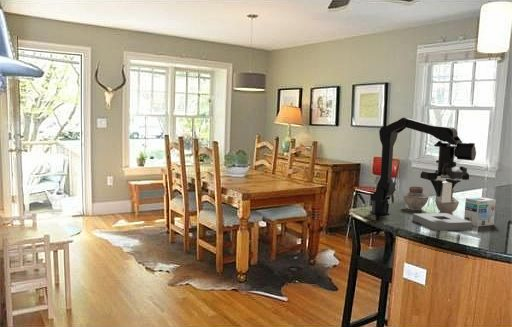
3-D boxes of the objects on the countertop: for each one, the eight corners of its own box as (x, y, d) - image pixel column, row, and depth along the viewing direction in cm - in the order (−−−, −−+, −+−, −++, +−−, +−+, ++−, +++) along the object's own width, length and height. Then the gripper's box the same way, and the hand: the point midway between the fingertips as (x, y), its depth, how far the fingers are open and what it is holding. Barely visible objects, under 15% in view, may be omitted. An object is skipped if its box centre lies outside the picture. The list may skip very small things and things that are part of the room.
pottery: (453, 218, 189) (455, 191, 187) (398, 209, 205) (400, 184, 204) (461, 214, 197) (463, 189, 196) (407, 206, 213) (409, 182, 212)
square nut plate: (435, 230, 166) (436, 223, 166) (412, 220, 182) (413, 213, 181) (471, 229, 169) (472, 222, 169) (446, 219, 185) (446, 213, 185)
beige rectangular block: (441, 202, 172) (443, 182, 171) (435, 200, 176) (437, 181, 175) (450, 202, 173) (452, 182, 172) (444, 200, 177) (445, 181, 176)
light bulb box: (477, 227, 174) (479, 201, 173) (462, 223, 180) (464, 197, 179) (494, 224, 179) (496, 199, 178) (479, 221, 185) (481, 196, 184)
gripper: (437, 160, 163) (434, 200, 165) (480, 160, 167) (477, 200, 168) (420, 157, 174) (418, 195, 175) (461, 157, 177) (458, 195, 179)
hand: (443, 196), depth 174 cm, fingers closed on beige rectangular block, 4 cm apart
